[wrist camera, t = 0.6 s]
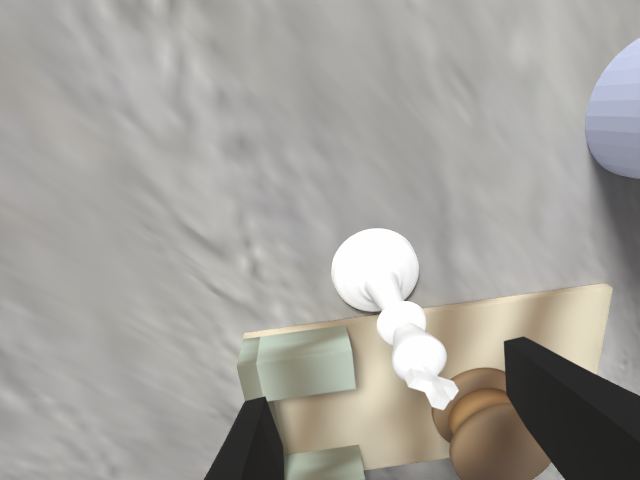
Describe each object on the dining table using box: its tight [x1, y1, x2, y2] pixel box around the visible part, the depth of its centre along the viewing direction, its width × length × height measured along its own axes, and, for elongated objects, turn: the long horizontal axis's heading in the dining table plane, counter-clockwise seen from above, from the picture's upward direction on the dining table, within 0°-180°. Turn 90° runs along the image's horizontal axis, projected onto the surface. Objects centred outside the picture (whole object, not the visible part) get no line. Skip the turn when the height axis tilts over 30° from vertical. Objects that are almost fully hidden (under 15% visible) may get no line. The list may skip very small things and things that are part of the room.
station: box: [237, 283, 613, 480], centre depth 22 cm, size 22×12×4 cm, turn 97°
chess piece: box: [331, 229, 459, 410], centre depth 16 cm, size 5×5×10 cm
